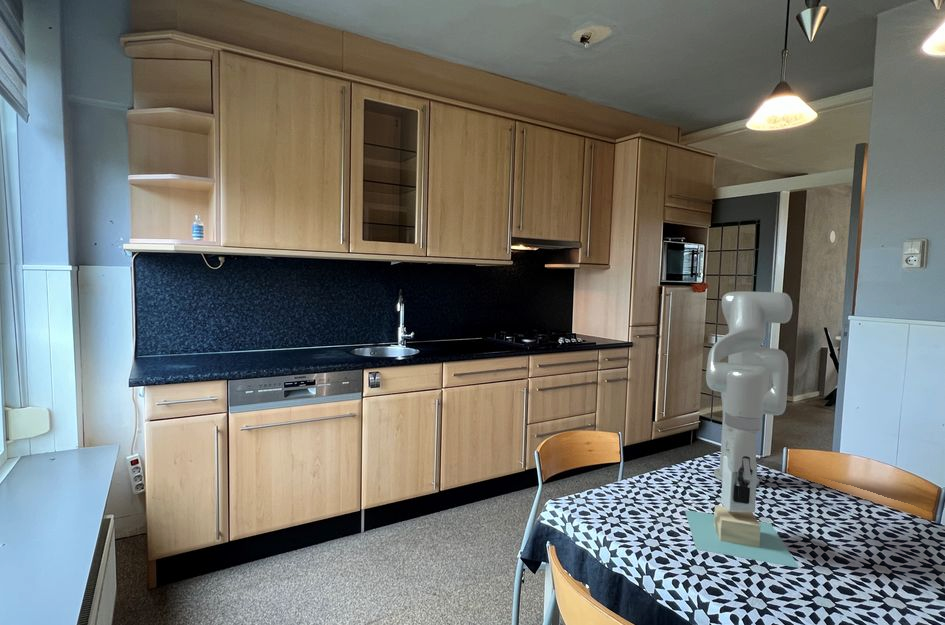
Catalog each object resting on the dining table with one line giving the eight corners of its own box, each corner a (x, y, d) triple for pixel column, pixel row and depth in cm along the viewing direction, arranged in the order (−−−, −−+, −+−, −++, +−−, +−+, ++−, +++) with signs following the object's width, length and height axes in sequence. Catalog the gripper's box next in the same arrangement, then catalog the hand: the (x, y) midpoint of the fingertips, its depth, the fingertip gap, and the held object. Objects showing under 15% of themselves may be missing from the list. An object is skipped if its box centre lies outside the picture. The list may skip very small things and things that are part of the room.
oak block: (713, 524, 117) (715, 505, 117) (750, 530, 115) (751, 510, 114) (720, 540, 109) (721, 519, 109) (759, 547, 107) (760, 526, 107)
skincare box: (745, 504, 114) (748, 455, 113) (756, 513, 109) (759, 462, 109) (719, 503, 114) (722, 454, 113) (729, 512, 109) (732, 461, 109)
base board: (684, 514, 125) (684, 509, 124) (770, 527, 119) (770, 523, 118) (695, 554, 105) (696, 549, 105) (799, 573, 100) (799, 567, 99)
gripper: (717, 411, 120) (713, 480, 121) (733, 430, 103) (728, 510, 104) (751, 414, 118) (746, 485, 119) (772, 434, 101) (766, 516, 102)
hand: (738, 496), depth 111 cm, fingers closed on skincare box, 5 cm apart
